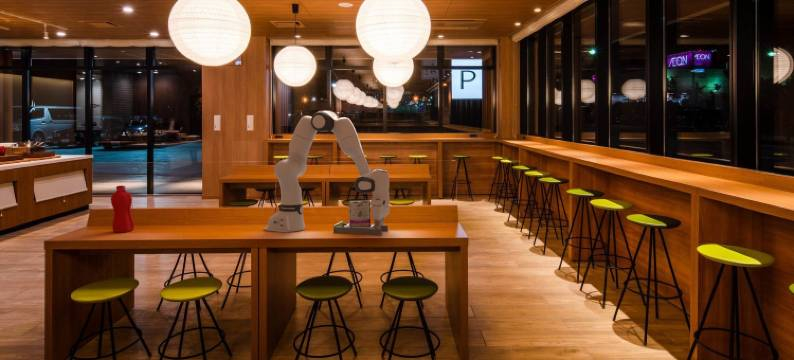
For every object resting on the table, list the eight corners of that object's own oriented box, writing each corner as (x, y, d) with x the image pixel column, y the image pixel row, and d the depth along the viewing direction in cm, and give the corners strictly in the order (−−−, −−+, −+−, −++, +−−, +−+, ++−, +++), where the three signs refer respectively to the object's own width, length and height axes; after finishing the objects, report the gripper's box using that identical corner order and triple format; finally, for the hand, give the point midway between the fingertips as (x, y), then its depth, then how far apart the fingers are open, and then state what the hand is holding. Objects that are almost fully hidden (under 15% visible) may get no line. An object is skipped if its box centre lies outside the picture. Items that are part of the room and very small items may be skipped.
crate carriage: (344, 231, 282) (343, 218, 281) (349, 228, 290) (349, 216, 289) (376, 233, 277) (376, 220, 276) (381, 230, 285) (381, 217, 284)
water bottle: (127, 233, 282) (124, 187, 279) (109, 232, 284) (106, 186, 281) (139, 230, 291) (136, 184, 288) (122, 229, 293) (119, 184, 290)
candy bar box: (369, 230, 288) (369, 200, 286) (370, 231, 283) (370, 201, 281) (348, 230, 285) (348, 200, 284) (349, 232, 281) (349, 201, 279)
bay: (333, 232, 282) (333, 225, 281) (341, 228, 293) (341, 221, 293) (381, 235, 275) (381, 227, 274) (387, 230, 286) (387, 223, 286)
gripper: (381, 196, 290) (381, 221, 291) (369, 202, 270) (369, 229, 272) (392, 197, 288) (392, 222, 290) (381, 203, 268) (381, 229, 270)
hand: (381, 225), depth 280 cm, fingers closed
